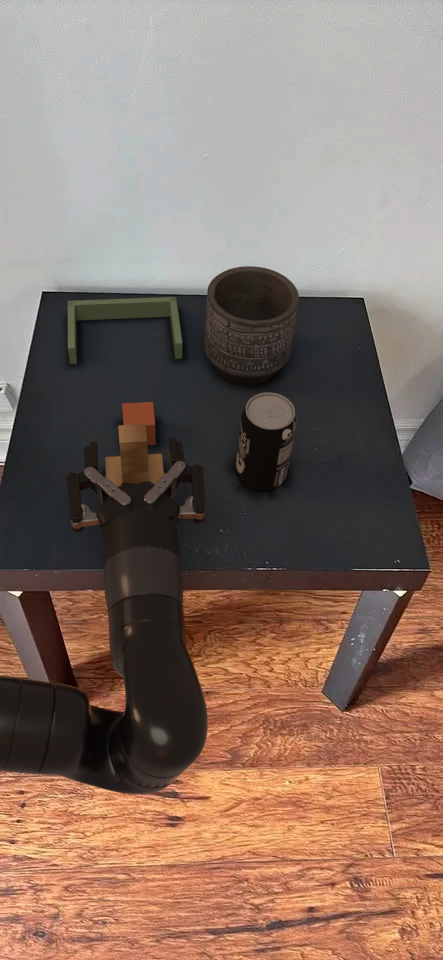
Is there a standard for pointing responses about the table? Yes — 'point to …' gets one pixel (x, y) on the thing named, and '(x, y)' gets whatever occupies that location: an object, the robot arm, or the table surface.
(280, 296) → the planter
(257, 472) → the beverage can
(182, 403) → the table surface
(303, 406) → the table surface
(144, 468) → the stamp
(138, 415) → the red cube
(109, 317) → the corral
